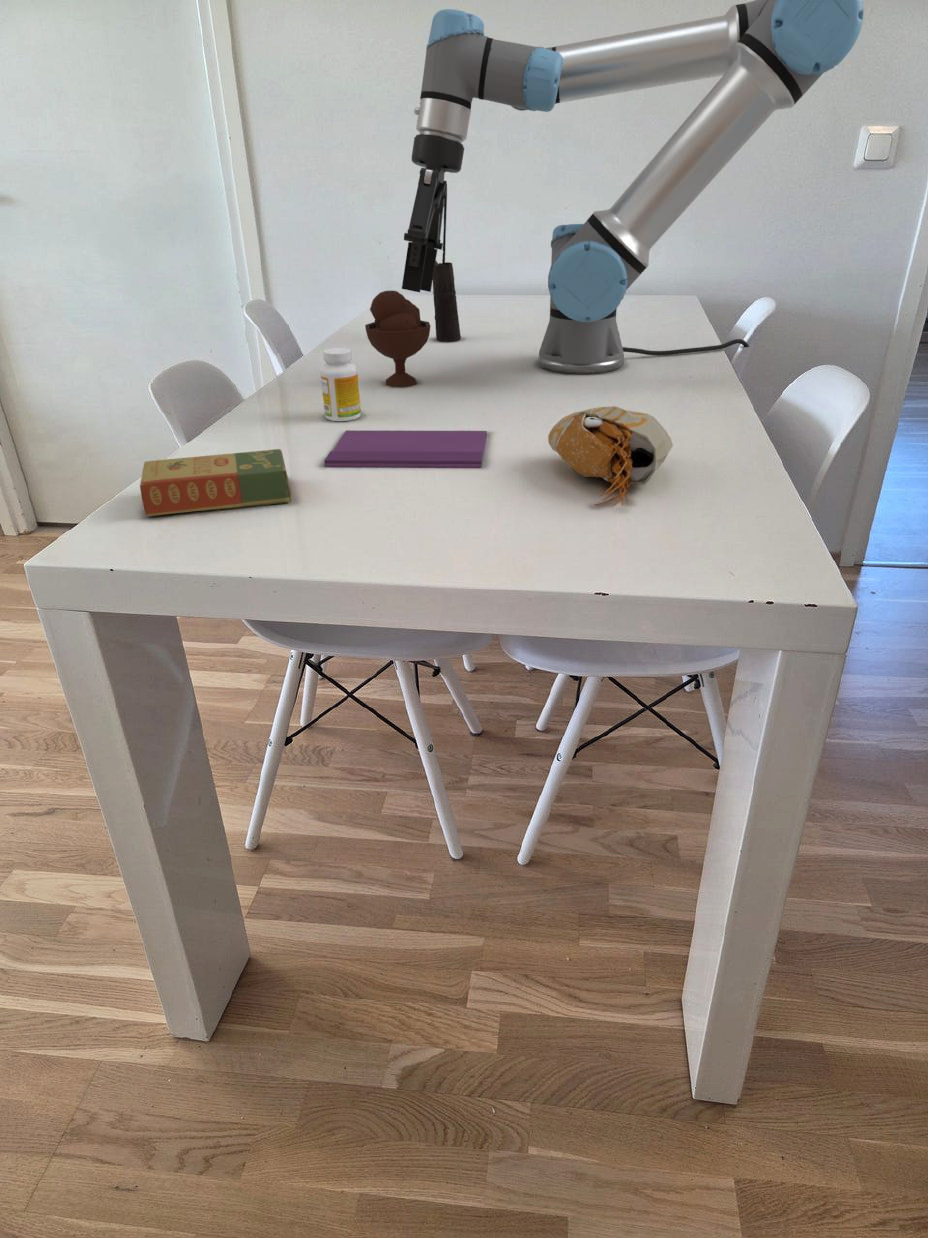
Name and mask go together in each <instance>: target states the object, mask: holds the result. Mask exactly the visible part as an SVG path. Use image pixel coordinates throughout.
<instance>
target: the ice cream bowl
mask: <svg viewBox="0 0 928 1238" xmlns="http://www.w3.org/2000/svg"><path fill="white" fill-rule="evenodd" d="M369 311H370V313H371V315H372V317H373V318H374V321H373V322H370V323H367V324H365V333H366V336H367V339H368V341H369V343H370V345H371V346H372V347H373V348H374V349H375V351H377V352H378V353H379V354H381V355H382V356H384V357H387V358H388V359H389V358H390V359H392V360H393V363H394V373H393V374H392V375H390V376H388V377H387V378H386V379H385V381H384V382H385V386H387V387H391V388H405V387H412V386H415V385H417V384H418V383H417V379H416V377H415V376H412V375H411V374H410V373H408V372H407V371H406V361H407V359H408V358H410V357H412V356H414V355H416V354H417V353H418V352H420V351H421V350H422V348H423V347H424V346H425V345H426V344H427V342H428V339H429V337H430V333H431V326H432V325H431V324H430V321H426V320H421V310H420V309H419V308H418V306H416V305H415V304H414V303H413V302H412V301H410V300H409V299H407V298H406V297H405V296H404V294H402V293H400V292H399V291H398V290H383V291H380V292H379V293H378V294H376V295H375V296H374V298H373V299H372V302H371V304H370V308H369Z"/></svg>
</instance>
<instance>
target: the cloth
mask: <svg viewBox="0 0 928 1238" xmlns="http://www.w3.org/2000/svg"><path fill="white" fill-rule="evenodd" d="M487 431H488V430H345V431H344V432H343V434H342V435H341V437H340V439H339V440H338V442H337V443H336V445H335V447H334V448H333V449H332V450H330V451H329V452H328V454H327V455H326V457H325V458H324V467H325V468H326V467H329V468H331V467H332V468H333V467H335V468H337V467H342V468H343V467H344V468H345V467H347V468H351V467H352V468H482V465H483V459H484V452H485V446H486V440H487V435H488V434H487V433H488V432H487Z"/></svg>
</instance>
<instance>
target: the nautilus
mask: <svg viewBox="0 0 928 1238" xmlns="http://www.w3.org/2000/svg"><path fill="white" fill-rule="evenodd" d="M547 439H548V442H547V443H548V445H549V446H550V448H551V450H552V451H554V452H556V453H557V454H558V455H559V457H561V459H562V460H563V461H564V462H565V463H566V464H567V465H568V466H569V467H570V468H571V469H573V471H574V473H577V474H579V475H582V476H583V477H584V478H586V477H587V478H589V477H595V478H602V479H603V480H604V481H606V482H610V483H611V486H610V487H609V488H607V489H606V490H605V491H604V492H603V493H601V494H600V495H599V496H600V497H601V496H603V495H605V494H606V493H607V494H608V495H607V496H606V497H605V498H603V499H602V501H604V502H600V503H594V506H600V505H605V504H607V503H609V502H612V501H613V500H616V499H618V498H619V499H618V500H617V501H615V503H614V504H613V505H611V507H615V506H616V505H617V504H619V503H621V506H622V507H623V506H624V501H623V497H624V496H625V499H626V501H627V502H626V503H627V504H628V503H629V499H628V497H627V492H628V491H629V488H630V486H631V485H646V484H647V483H648V482H649V480H650V479H651V478H652V476H653V475H654V474H655V473H656V472H657V471H658V470H659V468H660V467H661V466H662V464H664V462H665V460H666V458H667V457H668V455H669V453H670V452H671V450H672V448H673V447H674V444H673V441H672V438H671V436H670V435H669V433H668V431H667V430H666V429H665V427H663V425H662V424H661V423H660V422H659V421H658V419H657V418H656V417H654V415H651V414H650V413H649V414H648V413H645V412H641V411H640V412H638V411H632V410H628V409H624V408H621V407H619V406H615V405H614V406H612V405H611V406H600V407H593V408H589V409H585V410H584V409H583V410H580V411H576V412H572V413H571V414H568V415H566V416H564V417H562V418H561V419H560V420H559V421H558V422H556V423H555V424H554V426H552V428H551V430H550V431H549V433H548V435H547ZM612 488H613V489H612ZM617 489H618V491H619V494H618V495H615V496H614V497H612V498H610V499H609V497H611V496H612V495H613V494H614V492H615V491H616V490H617ZM607 499H608V500H607ZM605 500H606V501H605Z"/></svg>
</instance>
